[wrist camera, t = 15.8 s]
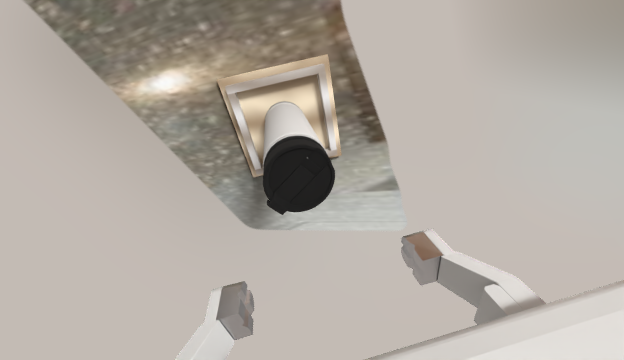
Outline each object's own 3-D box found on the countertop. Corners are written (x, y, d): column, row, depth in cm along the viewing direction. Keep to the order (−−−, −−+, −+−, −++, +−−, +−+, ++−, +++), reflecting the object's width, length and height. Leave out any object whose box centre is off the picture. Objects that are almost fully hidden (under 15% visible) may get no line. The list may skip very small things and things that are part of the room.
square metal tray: (217, 79, 32) (214, 80, 30) (326, 54, 33) (330, 54, 31) (253, 175, 40) (253, 181, 38) (340, 153, 41) (343, 158, 39)
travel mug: (255, 124, 35) (242, 192, 18) (283, 91, 33) (299, 131, 16) (285, 149, 38) (299, 228, 21) (312, 120, 36) (353, 179, 19)
